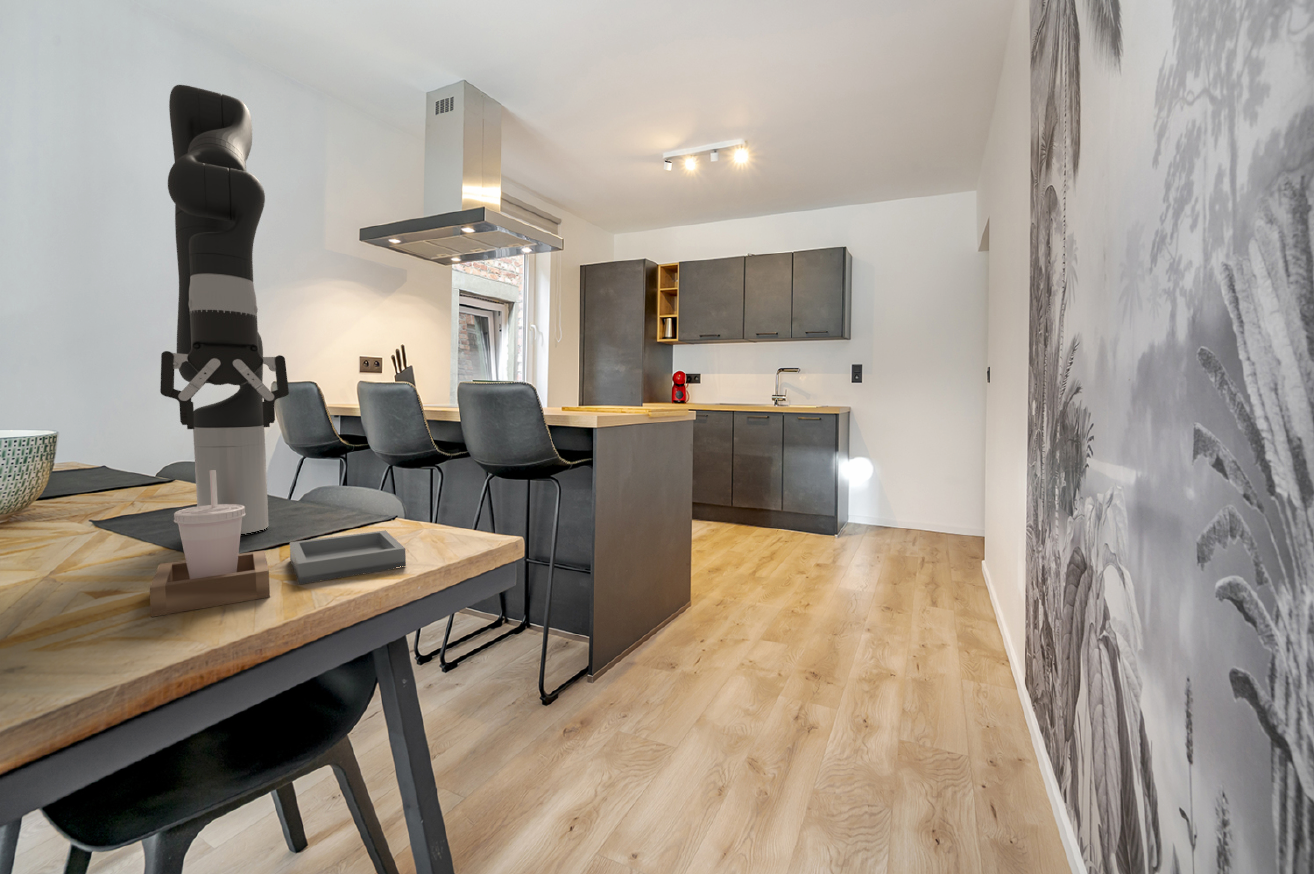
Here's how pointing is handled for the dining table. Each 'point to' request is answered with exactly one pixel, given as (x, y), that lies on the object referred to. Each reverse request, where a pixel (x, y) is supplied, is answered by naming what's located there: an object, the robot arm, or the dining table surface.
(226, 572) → the smoothie
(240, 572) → the holder
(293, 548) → the tray
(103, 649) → the dining table surface
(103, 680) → the dining table surface
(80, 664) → the dining table surface
